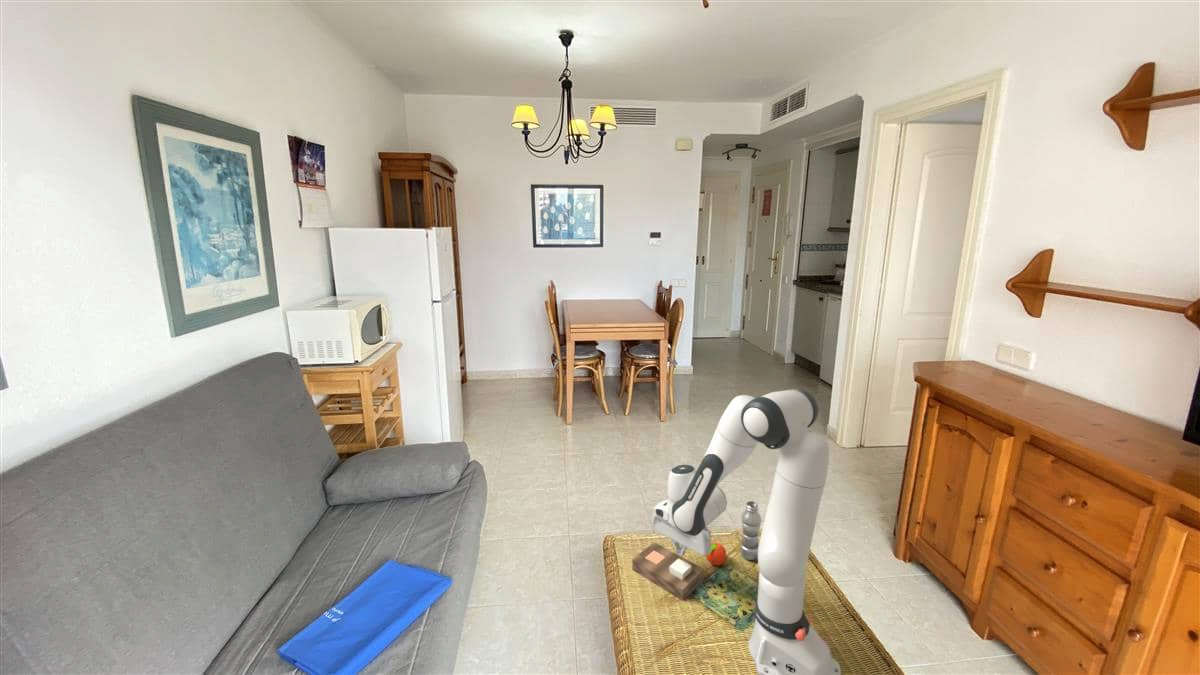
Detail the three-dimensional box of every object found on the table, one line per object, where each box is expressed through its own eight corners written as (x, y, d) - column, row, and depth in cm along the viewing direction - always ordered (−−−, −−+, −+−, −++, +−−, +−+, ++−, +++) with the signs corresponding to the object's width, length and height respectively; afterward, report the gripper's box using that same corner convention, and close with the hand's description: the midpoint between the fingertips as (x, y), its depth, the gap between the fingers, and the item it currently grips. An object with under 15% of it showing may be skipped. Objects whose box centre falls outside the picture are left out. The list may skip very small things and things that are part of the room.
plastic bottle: (739, 561, 162) (741, 508, 157) (739, 548, 168) (742, 497, 163) (759, 564, 160) (762, 511, 155) (759, 551, 166) (762, 500, 162)
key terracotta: (665, 564, 160) (665, 556, 159) (656, 571, 156) (656, 564, 155) (653, 557, 163) (653, 550, 162) (644, 564, 159) (644, 557, 159)
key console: (703, 579, 154) (704, 569, 153) (682, 600, 145) (682, 589, 144) (654, 552, 167) (654, 542, 166) (632, 569, 159) (632, 559, 158)
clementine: (716, 574, 156) (716, 555, 154) (698, 563, 161) (699, 545, 159) (730, 562, 161) (730, 544, 159) (713, 553, 166) (713, 535, 165)
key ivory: (691, 573, 152) (691, 565, 152) (682, 581, 149) (682, 574, 148) (678, 565, 156) (678, 558, 155) (669, 574, 152) (669, 566, 152)
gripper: (716, 524, 143) (714, 563, 146) (661, 497, 157) (660, 534, 160) (704, 533, 138) (703, 574, 142) (649, 506, 152) (648, 543, 155)
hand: (680, 553), depth 151 cm, fingers closed
